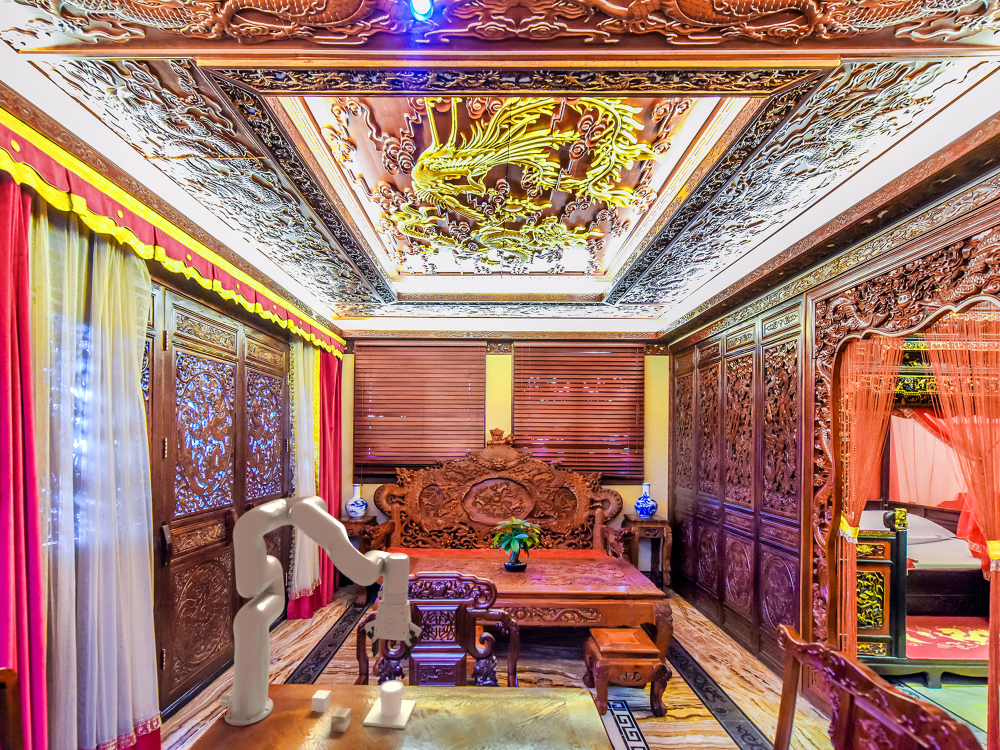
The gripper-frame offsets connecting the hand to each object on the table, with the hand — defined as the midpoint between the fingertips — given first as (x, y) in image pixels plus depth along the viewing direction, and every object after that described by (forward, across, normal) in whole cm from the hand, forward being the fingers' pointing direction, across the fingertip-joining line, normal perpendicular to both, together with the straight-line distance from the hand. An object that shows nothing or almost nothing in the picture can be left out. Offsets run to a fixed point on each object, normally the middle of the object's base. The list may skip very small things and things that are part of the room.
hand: (391, 656), depth 142 cm
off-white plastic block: (+17, -21, 0) cm, 27 cm away
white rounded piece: (+16, +1, 0) cm, 16 cm away
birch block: (+17, -11, -7) cm, 21 cm away
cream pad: (+16, +1, 0) cm, 16 cm away
